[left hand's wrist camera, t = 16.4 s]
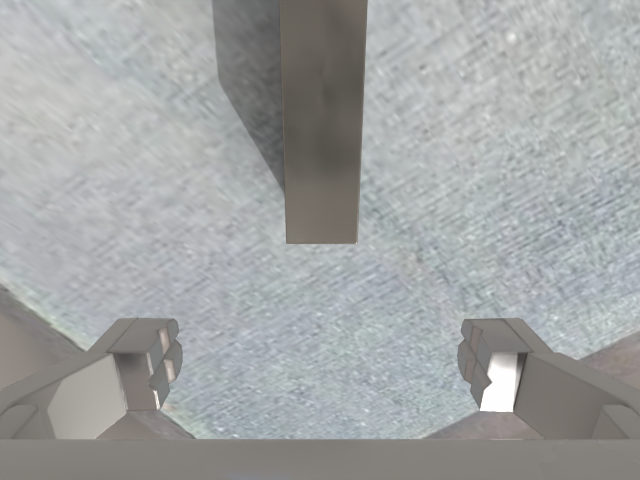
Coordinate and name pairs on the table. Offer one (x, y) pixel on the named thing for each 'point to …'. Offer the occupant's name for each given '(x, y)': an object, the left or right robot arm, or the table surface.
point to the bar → (322, 117)
